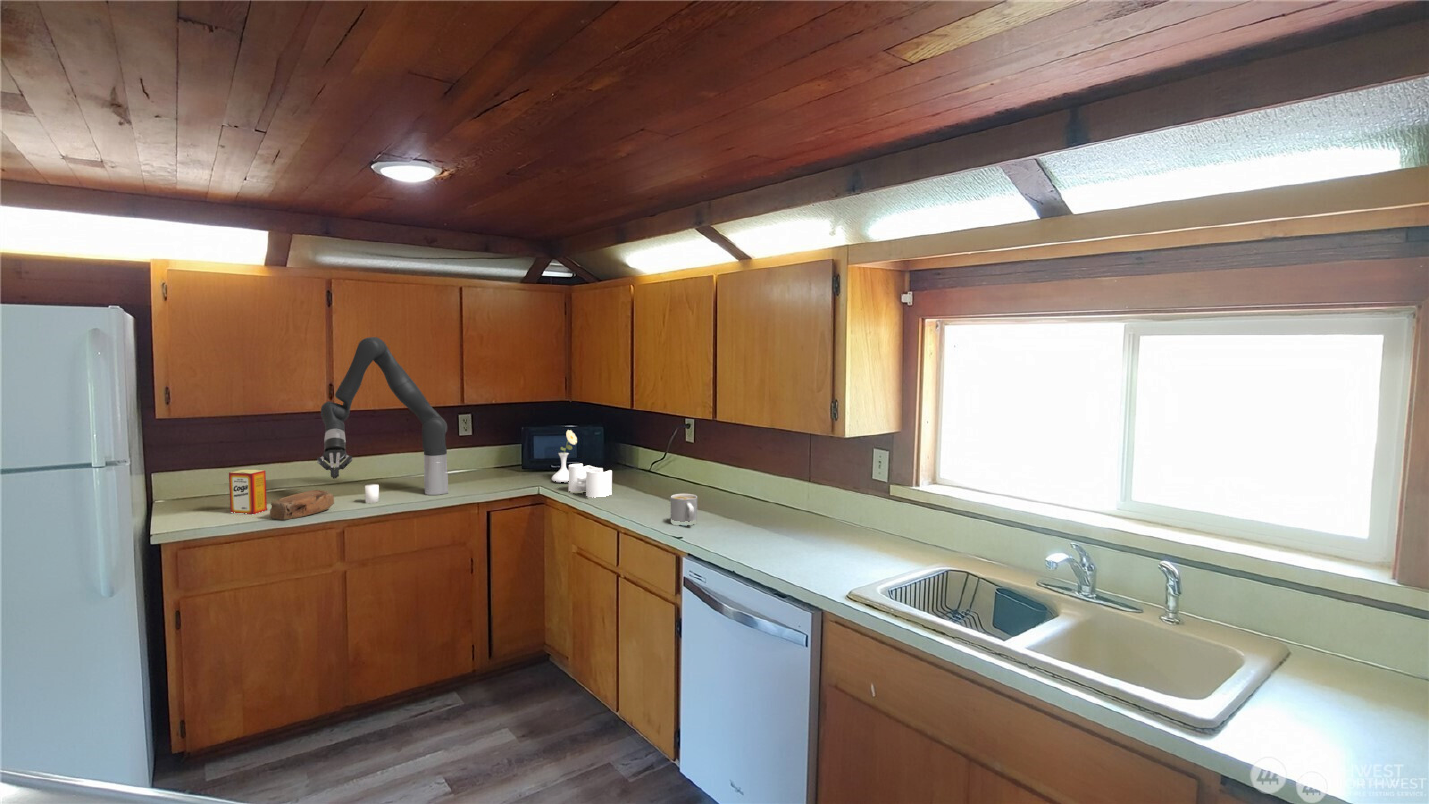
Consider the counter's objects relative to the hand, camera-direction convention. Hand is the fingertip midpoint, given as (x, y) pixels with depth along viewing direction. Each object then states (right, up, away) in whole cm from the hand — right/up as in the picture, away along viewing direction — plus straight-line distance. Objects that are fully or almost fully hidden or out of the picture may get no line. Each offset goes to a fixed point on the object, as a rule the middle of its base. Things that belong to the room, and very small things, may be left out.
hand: (334, 477), depth 264 cm
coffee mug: (+139, -16, -15) cm, 141 cm away
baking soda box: (-28, -12, -9) cm, 32 cm away
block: (-3, -8, -2) cm, 9 cm away
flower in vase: (+78, -9, +58) cm, 98 cm away
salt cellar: (+10, -11, +9) cm, 18 cm away
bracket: (+95, -12, +30) cm, 100 cm away
